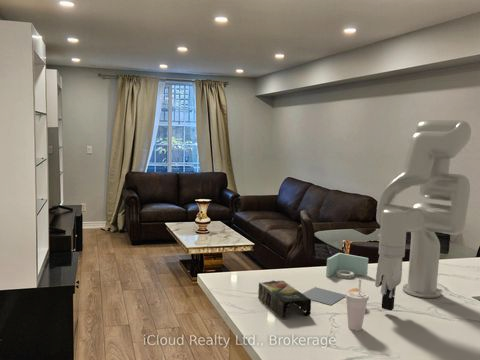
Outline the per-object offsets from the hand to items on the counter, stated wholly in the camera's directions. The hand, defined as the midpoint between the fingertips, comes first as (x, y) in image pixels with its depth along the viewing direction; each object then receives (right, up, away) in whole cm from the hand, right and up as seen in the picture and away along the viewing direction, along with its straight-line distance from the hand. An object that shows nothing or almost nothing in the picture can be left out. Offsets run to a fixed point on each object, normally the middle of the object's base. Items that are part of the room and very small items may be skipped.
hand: (387, 308), depth 143 cm
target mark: (-17, +1, +13) cm, 22 cm away
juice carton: (-32, -1, +3) cm, 32 cm away
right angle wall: (-4, +2, +37) cm, 37 cm away
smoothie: (-13, -2, -11) cm, 17 cm away
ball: (-9, +2, +5) cm, 10 cm away
